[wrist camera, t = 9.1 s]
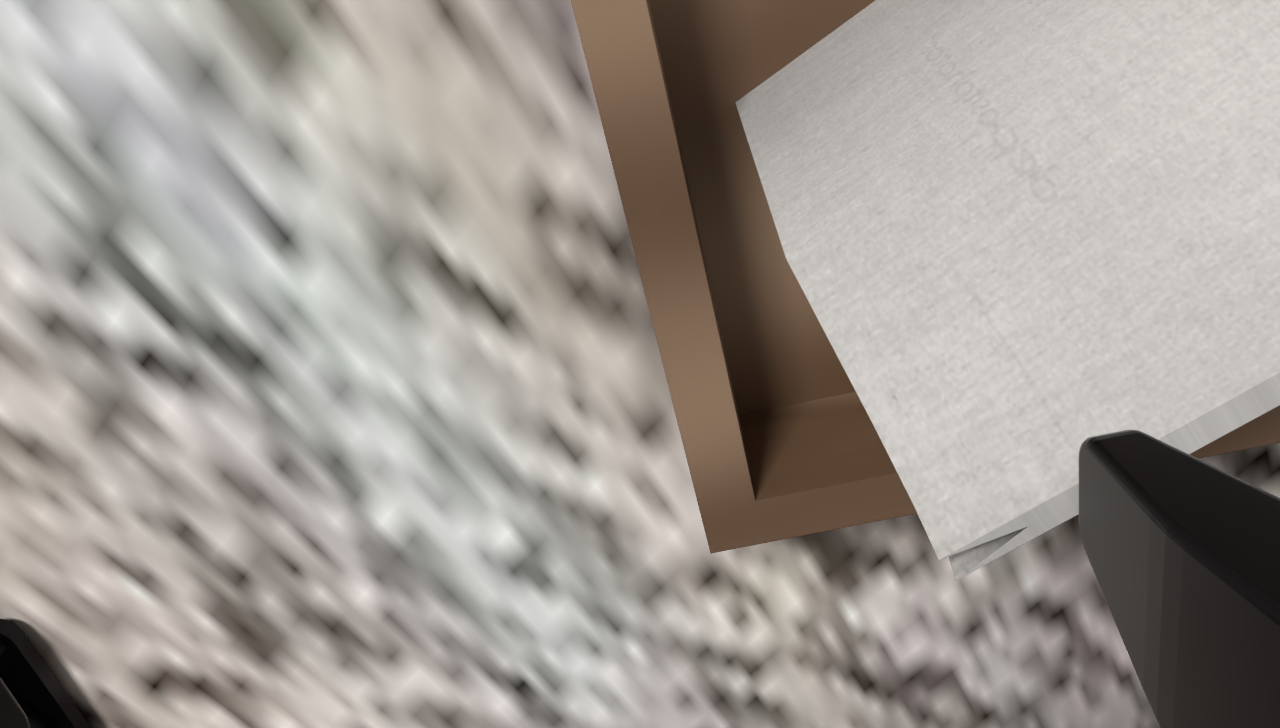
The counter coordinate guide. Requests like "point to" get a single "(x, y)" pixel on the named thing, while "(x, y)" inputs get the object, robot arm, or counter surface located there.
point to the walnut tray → (741, 271)
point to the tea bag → (1033, 236)
